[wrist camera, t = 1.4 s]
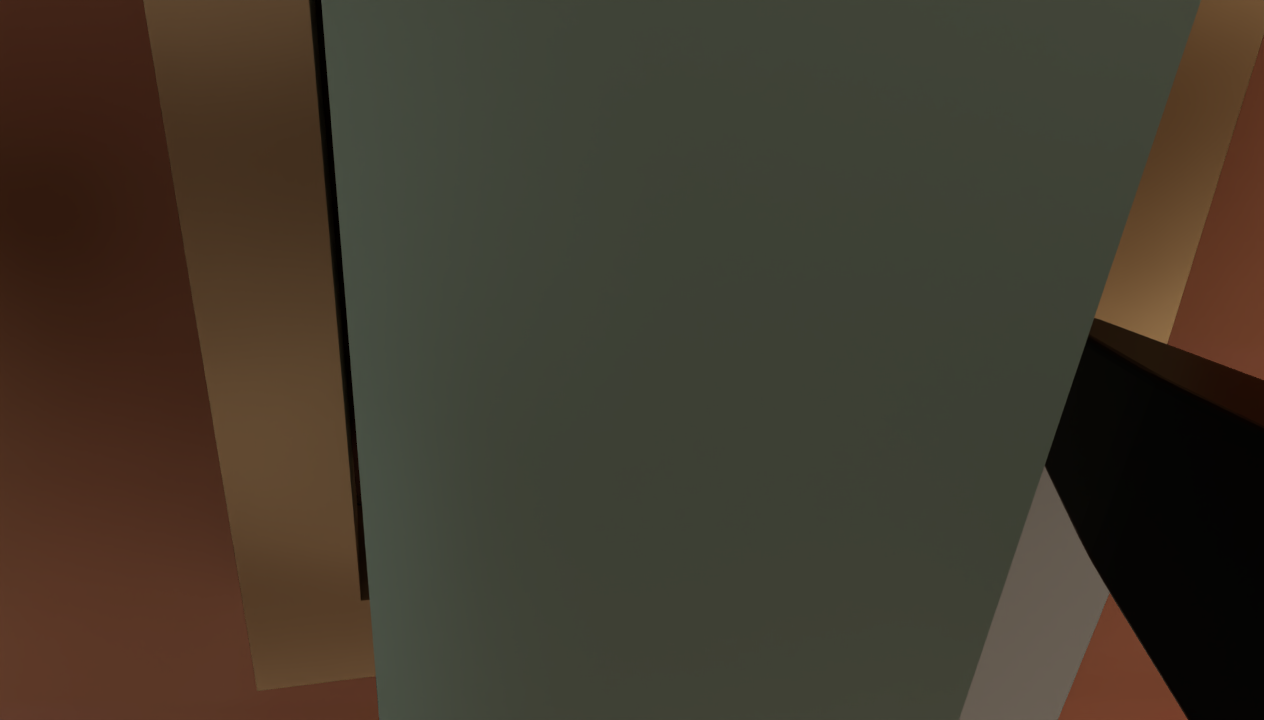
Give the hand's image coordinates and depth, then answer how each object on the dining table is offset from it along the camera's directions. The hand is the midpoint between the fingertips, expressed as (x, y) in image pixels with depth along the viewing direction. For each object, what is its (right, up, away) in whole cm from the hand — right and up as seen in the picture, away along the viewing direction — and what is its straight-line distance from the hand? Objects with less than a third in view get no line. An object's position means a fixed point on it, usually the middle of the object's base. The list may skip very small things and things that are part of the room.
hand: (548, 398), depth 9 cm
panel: (-1, +3, +5) cm, 6 cm away
